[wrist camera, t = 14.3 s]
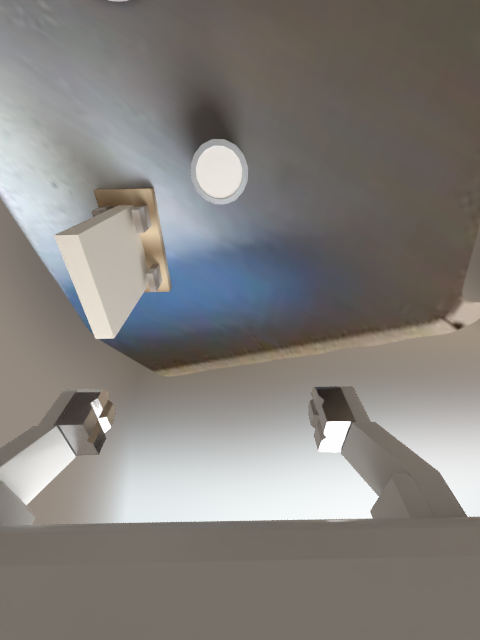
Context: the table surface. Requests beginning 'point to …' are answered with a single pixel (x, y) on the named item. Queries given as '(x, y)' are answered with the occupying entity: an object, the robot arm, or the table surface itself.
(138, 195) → the peg board base
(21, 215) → the table surface
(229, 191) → the white cup
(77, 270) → the rectangular slab
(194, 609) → the robot arm
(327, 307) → the table surface
